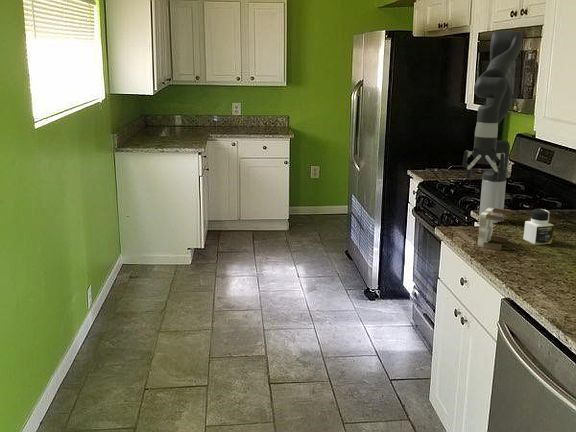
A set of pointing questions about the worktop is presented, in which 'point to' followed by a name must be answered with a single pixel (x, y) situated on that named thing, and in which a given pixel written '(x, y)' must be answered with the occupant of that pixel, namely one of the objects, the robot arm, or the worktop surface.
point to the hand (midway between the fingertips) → (481, 180)
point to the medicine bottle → (538, 228)
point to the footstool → (491, 228)
